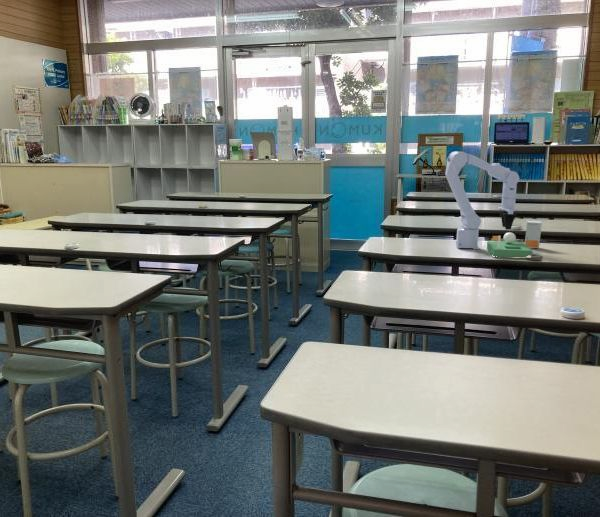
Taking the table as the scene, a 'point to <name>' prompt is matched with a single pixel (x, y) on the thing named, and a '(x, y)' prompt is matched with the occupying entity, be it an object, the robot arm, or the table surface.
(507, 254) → the green
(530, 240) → the skincare box
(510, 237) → the ball
